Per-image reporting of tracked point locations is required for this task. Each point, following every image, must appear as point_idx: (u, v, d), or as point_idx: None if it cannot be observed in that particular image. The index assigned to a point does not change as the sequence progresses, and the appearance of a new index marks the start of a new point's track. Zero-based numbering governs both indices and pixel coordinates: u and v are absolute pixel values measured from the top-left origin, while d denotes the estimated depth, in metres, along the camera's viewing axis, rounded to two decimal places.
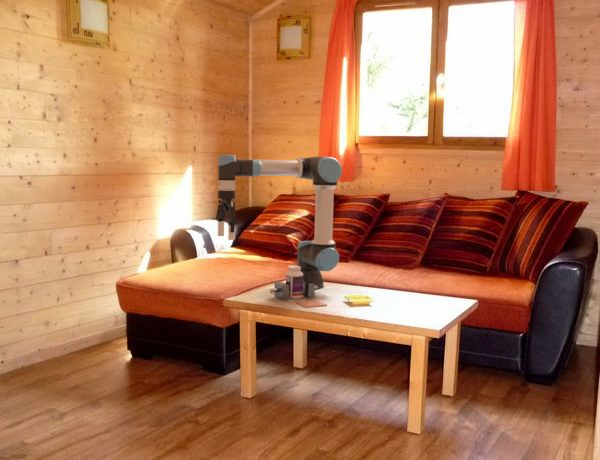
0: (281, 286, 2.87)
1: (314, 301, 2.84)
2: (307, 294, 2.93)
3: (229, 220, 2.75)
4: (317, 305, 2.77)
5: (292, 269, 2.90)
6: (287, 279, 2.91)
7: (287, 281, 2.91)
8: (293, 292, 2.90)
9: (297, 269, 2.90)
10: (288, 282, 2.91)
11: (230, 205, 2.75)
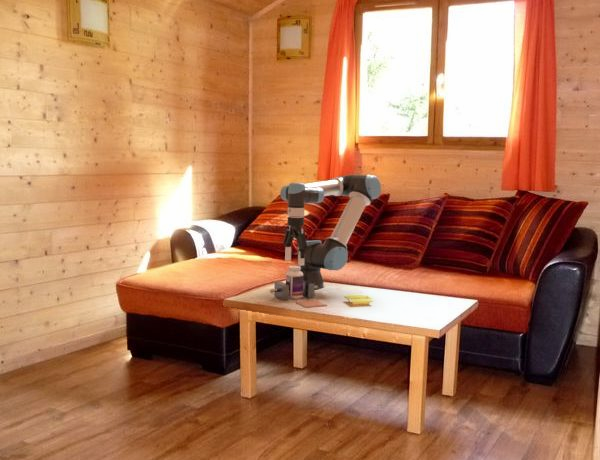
0: (281, 286, 2.87)
1: (314, 301, 2.84)
2: (307, 294, 2.93)
3: (299, 246, 2.84)
4: (317, 305, 2.77)
5: (292, 269, 2.90)
6: (287, 279, 2.91)
7: (287, 281, 2.91)
8: (293, 292, 2.90)
9: (297, 269, 2.90)
10: (288, 282, 2.91)
11: (300, 232, 2.84)
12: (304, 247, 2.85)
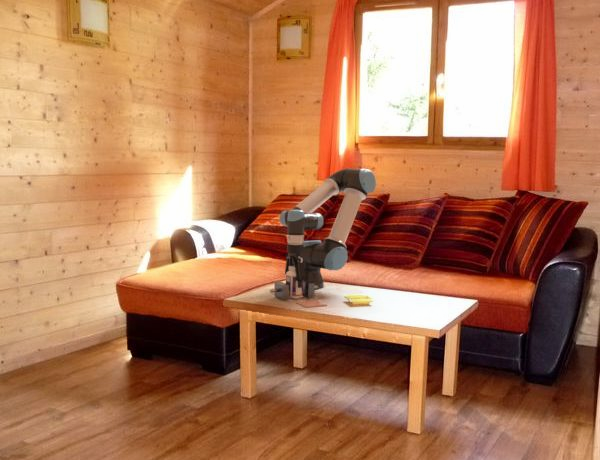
0: (281, 286, 2.87)
1: (314, 301, 2.84)
2: (307, 294, 2.93)
3: (297, 276, 2.88)
4: (317, 305, 2.77)
5: (292, 269, 2.90)
6: (287, 279, 2.91)
7: (287, 281, 2.91)
8: (293, 292, 2.90)
9: None
10: (288, 282, 2.91)
11: (300, 261, 2.86)
12: None
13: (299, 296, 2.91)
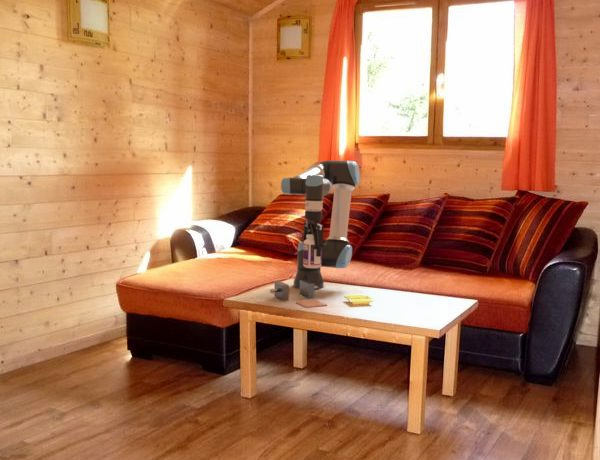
0: (281, 286, 2.87)
1: (314, 301, 2.84)
2: (307, 294, 2.93)
3: (316, 244, 2.73)
4: (317, 305, 2.77)
5: (310, 237, 2.75)
6: (305, 247, 2.76)
7: (305, 250, 2.76)
8: (311, 262, 2.75)
9: None
10: (306, 251, 2.76)
11: (319, 228, 2.71)
12: None
13: (317, 265, 2.76)
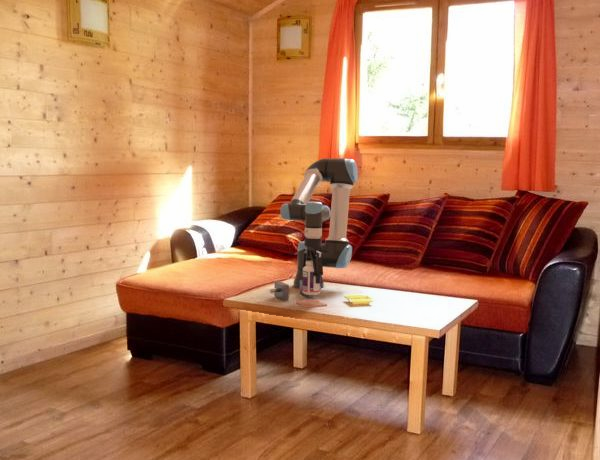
0: (281, 286, 2.87)
1: (314, 301, 2.84)
2: None
3: (315, 271, 2.75)
4: (317, 305, 2.77)
5: (309, 264, 2.77)
6: (304, 274, 2.77)
7: (304, 276, 2.78)
8: (310, 288, 2.77)
9: None
10: (305, 277, 2.77)
11: (318, 256, 2.73)
12: (320, 272, 2.75)
13: (317, 292, 2.78)
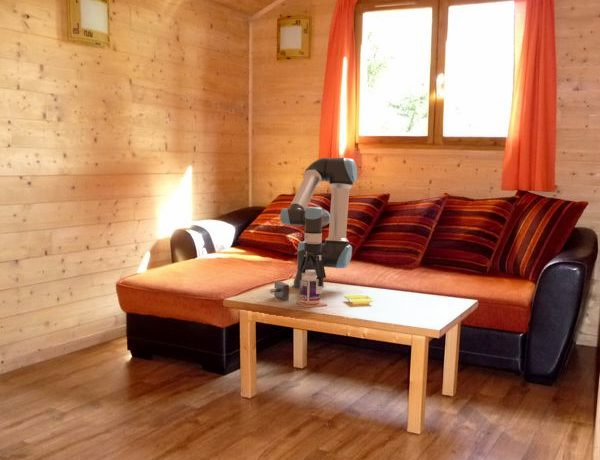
0: (281, 286, 2.87)
1: None
2: None
3: (317, 274, 2.73)
4: (317, 305, 2.77)
5: (309, 273, 2.78)
6: (304, 284, 2.78)
7: (304, 286, 2.78)
8: (310, 298, 2.77)
9: (314, 273, 2.78)
10: (305, 287, 2.78)
11: (318, 259, 2.73)
12: None
13: (316, 301, 2.79)
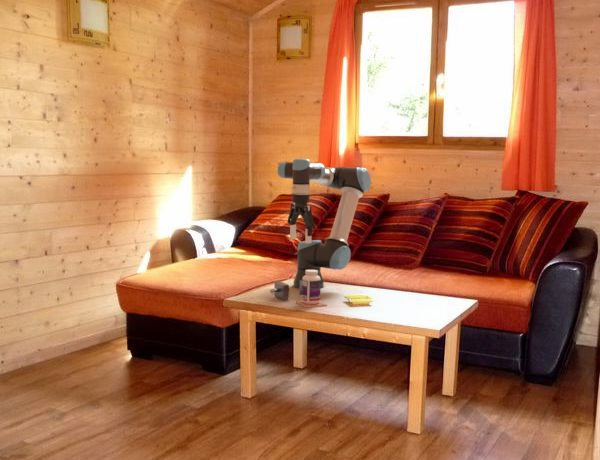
0: (281, 286, 2.87)
1: None
2: None
3: (306, 224, 2.79)
4: (317, 305, 2.77)
5: (309, 273, 2.78)
6: (304, 284, 2.78)
7: (304, 286, 2.78)
8: (310, 298, 2.77)
9: (314, 273, 2.78)
10: (305, 287, 2.78)
11: (307, 209, 2.78)
12: (311, 224, 2.79)
13: (316, 301, 2.79)
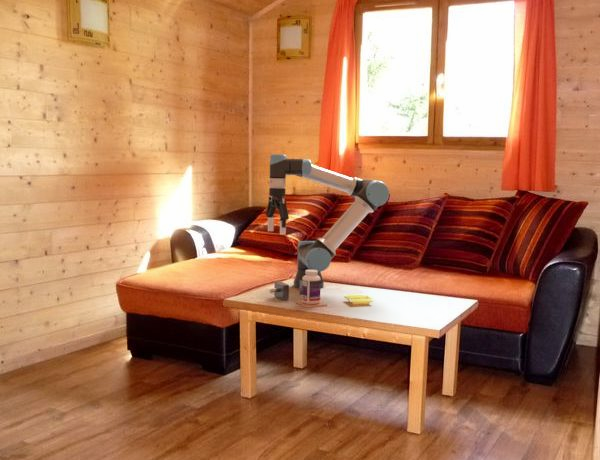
0: (281, 286, 2.87)
1: None
2: None
3: (281, 216, 2.92)
4: (317, 305, 2.77)
5: (309, 273, 2.78)
6: (304, 284, 2.78)
7: (304, 286, 2.78)
8: (310, 298, 2.77)
9: (314, 273, 2.78)
10: (305, 287, 2.78)
11: (282, 202, 2.92)
12: (285, 216, 2.92)
13: (316, 301, 2.79)
